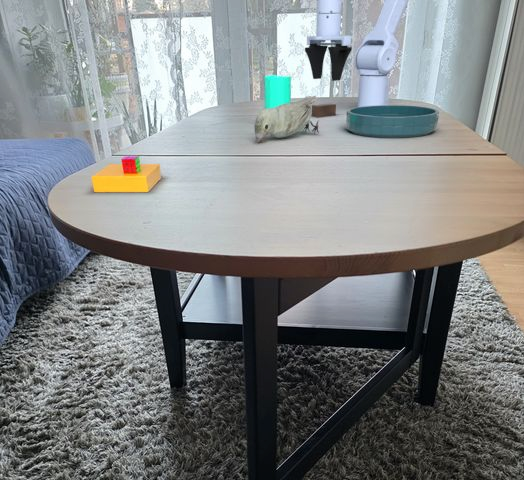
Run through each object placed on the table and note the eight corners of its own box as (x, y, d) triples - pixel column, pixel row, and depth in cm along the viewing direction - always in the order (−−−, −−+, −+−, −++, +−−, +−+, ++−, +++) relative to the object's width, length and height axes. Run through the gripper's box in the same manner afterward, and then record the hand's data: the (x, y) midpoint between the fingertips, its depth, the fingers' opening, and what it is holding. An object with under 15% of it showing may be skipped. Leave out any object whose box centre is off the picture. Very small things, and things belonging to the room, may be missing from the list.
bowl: (363, 121, 123) (364, 103, 121) (445, 126, 115) (448, 107, 113) (332, 134, 109) (333, 114, 107) (422, 141, 100) (425, 119, 98)
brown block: (329, 114, 135) (330, 103, 134) (335, 115, 134) (336, 104, 132) (311, 116, 133) (311, 105, 132) (317, 117, 131) (317, 106, 130)
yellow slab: (93, 192, 73) (87, 161, 71) (111, 178, 80) (106, 150, 78) (148, 192, 72) (143, 161, 70) (161, 178, 79) (158, 149, 77)
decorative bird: (248, 141, 104) (247, 101, 100) (305, 132, 113) (306, 94, 109) (265, 145, 101) (264, 103, 97) (322, 135, 109) (324, 96, 105)
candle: (261, 125, 121) (259, 68, 115) (283, 123, 123) (283, 67, 117) (271, 129, 117) (271, 70, 110) (295, 127, 119) (295, 68, 112)
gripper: (297, 15, 122) (296, 79, 129) (335, 12, 111) (332, 82, 118) (320, 14, 125) (318, 77, 132) (359, 12, 114) (355, 80, 122)
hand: (326, 79), depth 125 cm, fingers open, 7 cm apart
